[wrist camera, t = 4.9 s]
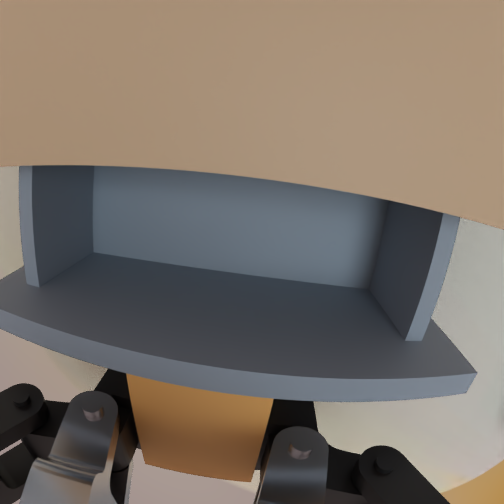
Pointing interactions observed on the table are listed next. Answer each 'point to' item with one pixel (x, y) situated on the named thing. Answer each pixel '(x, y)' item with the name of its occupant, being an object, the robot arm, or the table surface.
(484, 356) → the table surface
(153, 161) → the sleeve
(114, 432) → the robot arm
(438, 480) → the table surface
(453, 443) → the table surface
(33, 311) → the tray
